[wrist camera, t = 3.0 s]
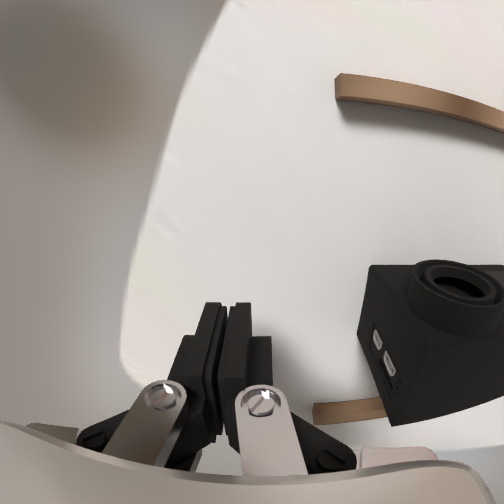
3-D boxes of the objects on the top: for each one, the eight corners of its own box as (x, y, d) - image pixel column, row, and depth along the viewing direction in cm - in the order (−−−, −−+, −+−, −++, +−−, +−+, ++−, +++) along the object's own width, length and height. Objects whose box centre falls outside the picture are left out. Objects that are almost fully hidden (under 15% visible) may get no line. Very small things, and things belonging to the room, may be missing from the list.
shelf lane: (532, 129, 10) (544, 130, 9) (471, 385, 17) (476, 394, 16) (334, 79, 11) (340, 73, 10) (312, 412, 18) (313, 425, 17)
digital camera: (507, 246, 13) (579, 294, 6) (485, 320, 15) (539, 381, 8) (371, 240, 14) (441, 317, 7) (355, 332, 15) (392, 430, 9)
